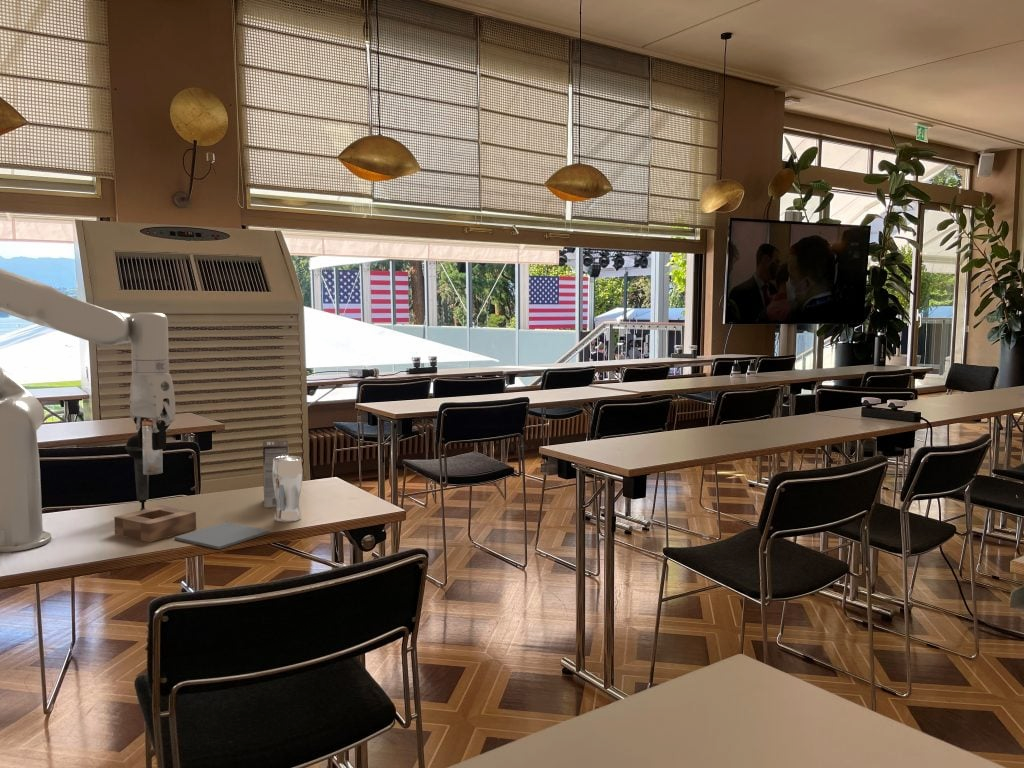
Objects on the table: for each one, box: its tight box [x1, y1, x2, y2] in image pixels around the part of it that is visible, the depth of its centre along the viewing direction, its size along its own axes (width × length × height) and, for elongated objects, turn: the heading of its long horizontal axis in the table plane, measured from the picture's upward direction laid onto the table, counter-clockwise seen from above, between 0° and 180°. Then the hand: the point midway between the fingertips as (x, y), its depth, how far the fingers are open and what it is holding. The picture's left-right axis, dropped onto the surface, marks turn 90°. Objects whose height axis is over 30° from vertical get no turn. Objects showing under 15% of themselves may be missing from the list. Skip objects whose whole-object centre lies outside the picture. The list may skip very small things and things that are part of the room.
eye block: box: [113, 505, 197, 543], centre depth 172 cm, size 12×12×4 cm
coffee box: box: [262, 439, 290, 509], centre depth 199 cm, size 9×6×16 cm
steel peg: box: [142, 419, 164, 476], centre depth 170 cm, size 4×4×12 cm
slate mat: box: [174, 521, 270, 550], centre depth 169 cm, size 14×14×1 cm
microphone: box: [125, 433, 150, 511], centre depth 187 cm, size 7×7×20 cm
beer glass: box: [273, 455, 303, 523], centre depth 183 cm, size 7×7×15 cm
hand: (152, 447), depth 170 cm, fingers closed on steel peg, 4 cm apart
